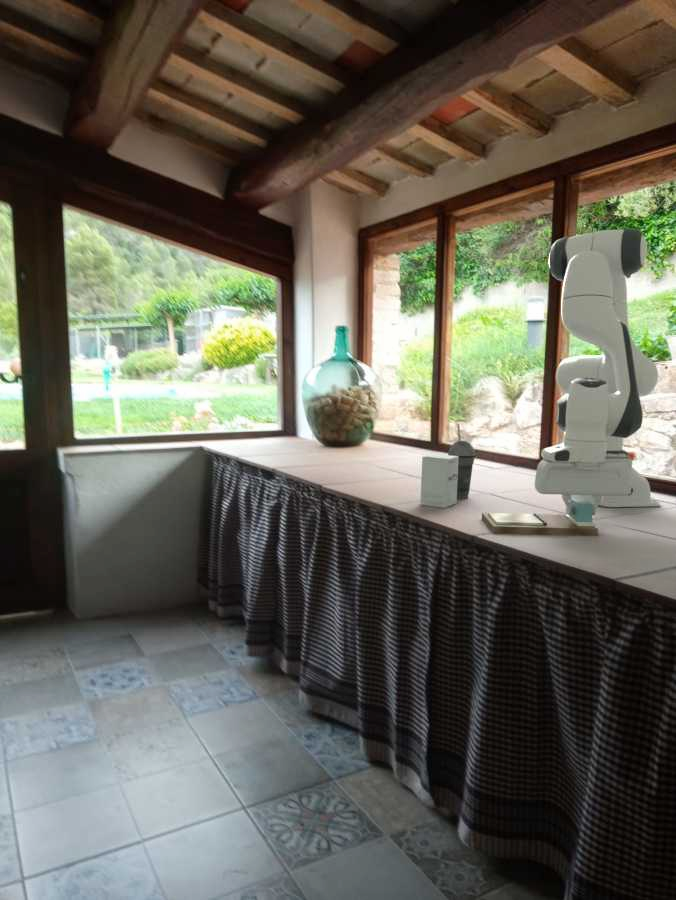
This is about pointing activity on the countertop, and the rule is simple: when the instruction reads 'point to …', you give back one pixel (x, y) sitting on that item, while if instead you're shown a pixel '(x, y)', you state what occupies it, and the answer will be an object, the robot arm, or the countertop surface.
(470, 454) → the beverage cup
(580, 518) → the teal and white block
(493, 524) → the board
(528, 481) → the countertop surface
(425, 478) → the supplement box
